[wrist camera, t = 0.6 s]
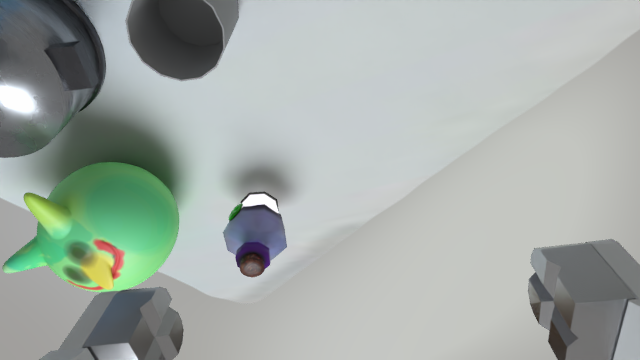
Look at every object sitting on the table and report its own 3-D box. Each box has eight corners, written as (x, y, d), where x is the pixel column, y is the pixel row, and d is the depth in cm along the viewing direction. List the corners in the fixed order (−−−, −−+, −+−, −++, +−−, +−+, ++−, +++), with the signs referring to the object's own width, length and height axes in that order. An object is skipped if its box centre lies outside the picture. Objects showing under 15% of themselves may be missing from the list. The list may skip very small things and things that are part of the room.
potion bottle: (237, 175, 58) (224, 237, 48) (297, 191, 60) (296, 253, 50) (224, 220, 63) (209, 284, 53) (280, 233, 64) (276, 297, 55)
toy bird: (161, 253, 66) (130, 336, 54) (47, 211, 60) (-16, 294, 49) (208, 173, 57) (183, 251, 46) (79, 115, 52) (13, 187, 40)
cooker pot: (-119, -22, 42) (-218, 3, 34) (85, -49, 41) (33, -30, 33) (-21, 124, 52) (-81, 170, 44) (145, 104, 51) (116, 147, 43)
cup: (142, -20, 43) (105, 5, 35) (213, -52, 42) (192, -34, 34) (186, 56, 48) (162, 93, 40) (251, 29, 46) (241, 62, 38)
